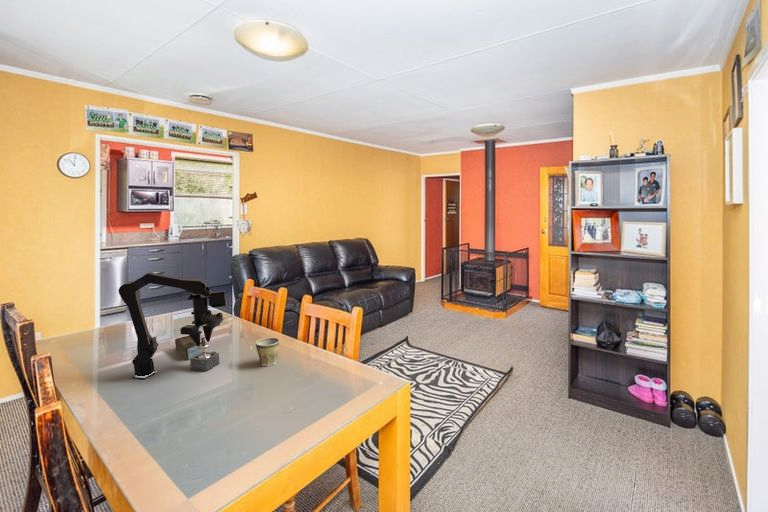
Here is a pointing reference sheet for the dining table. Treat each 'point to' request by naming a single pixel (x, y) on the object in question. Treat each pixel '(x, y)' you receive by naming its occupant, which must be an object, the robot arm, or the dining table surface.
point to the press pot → (204, 362)
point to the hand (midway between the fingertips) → (203, 344)
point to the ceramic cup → (268, 351)
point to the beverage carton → (187, 347)
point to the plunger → (203, 346)
